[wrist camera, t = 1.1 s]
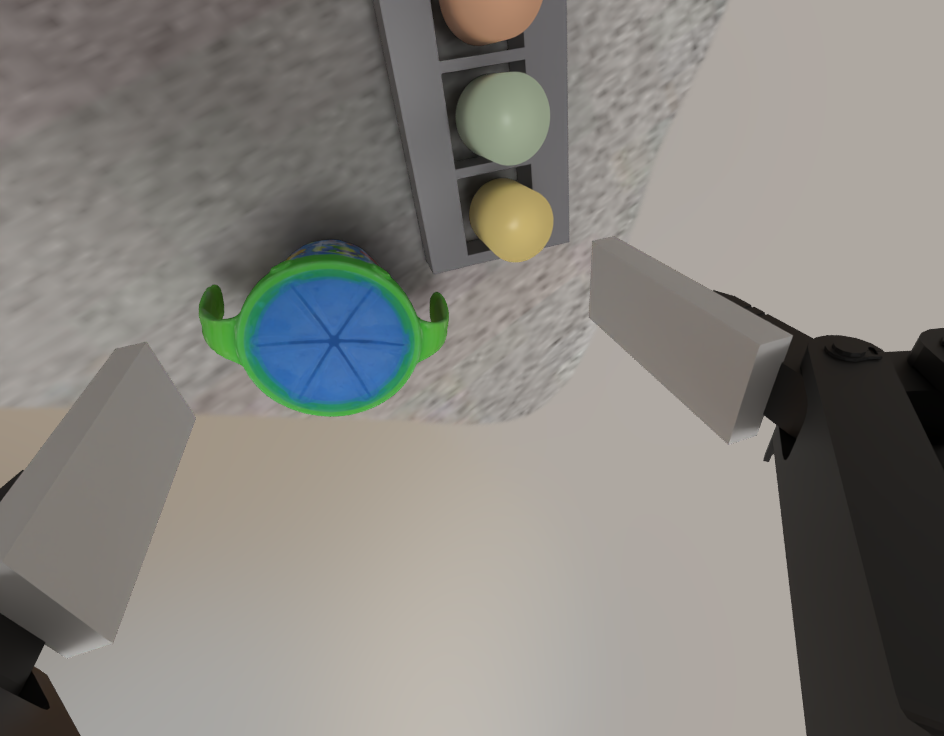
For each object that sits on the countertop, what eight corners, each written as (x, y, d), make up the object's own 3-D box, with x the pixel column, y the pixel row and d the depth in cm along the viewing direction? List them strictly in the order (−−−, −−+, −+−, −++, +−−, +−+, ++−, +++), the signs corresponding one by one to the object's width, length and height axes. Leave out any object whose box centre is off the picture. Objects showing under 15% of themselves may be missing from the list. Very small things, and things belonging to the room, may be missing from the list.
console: (359, -63, 24) (363, -79, 22) (543, -84, 26) (565, -102, 24) (426, 261, 35) (433, 274, 33) (553, 231, 37) (569, 241, 34)
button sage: (449, 80, 26) (467, 79, 23) (521, 67, 27) (548, 65, 24) (461, 163, 29) (478, 172, 26) (526, 149, 29) (551, 157, 26)
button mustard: (464, 185, 30) (481, 197, 26) (528, 172, 30) (552, 182, 27) (473, 250, 32) (490, 269, 29) (532, 237, 33) (554, 253, 30)
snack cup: (221, 335, 34) (186, 414, 26) (217, 194, 29) (173, 236, 21) (418, 352, 39) (442, 422, 31) (442, 236, 35) (478, 282, 26)
